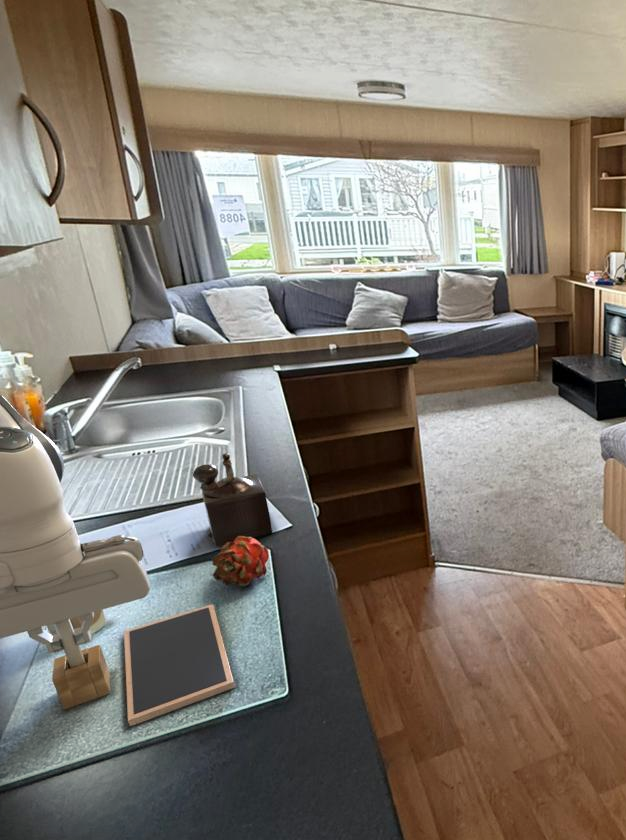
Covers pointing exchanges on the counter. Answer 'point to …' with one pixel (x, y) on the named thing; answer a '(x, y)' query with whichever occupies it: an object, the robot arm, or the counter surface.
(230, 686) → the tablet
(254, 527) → the brown manual coffee grinder
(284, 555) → the counter surface
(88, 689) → the pen stand
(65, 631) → the stylus
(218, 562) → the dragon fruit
